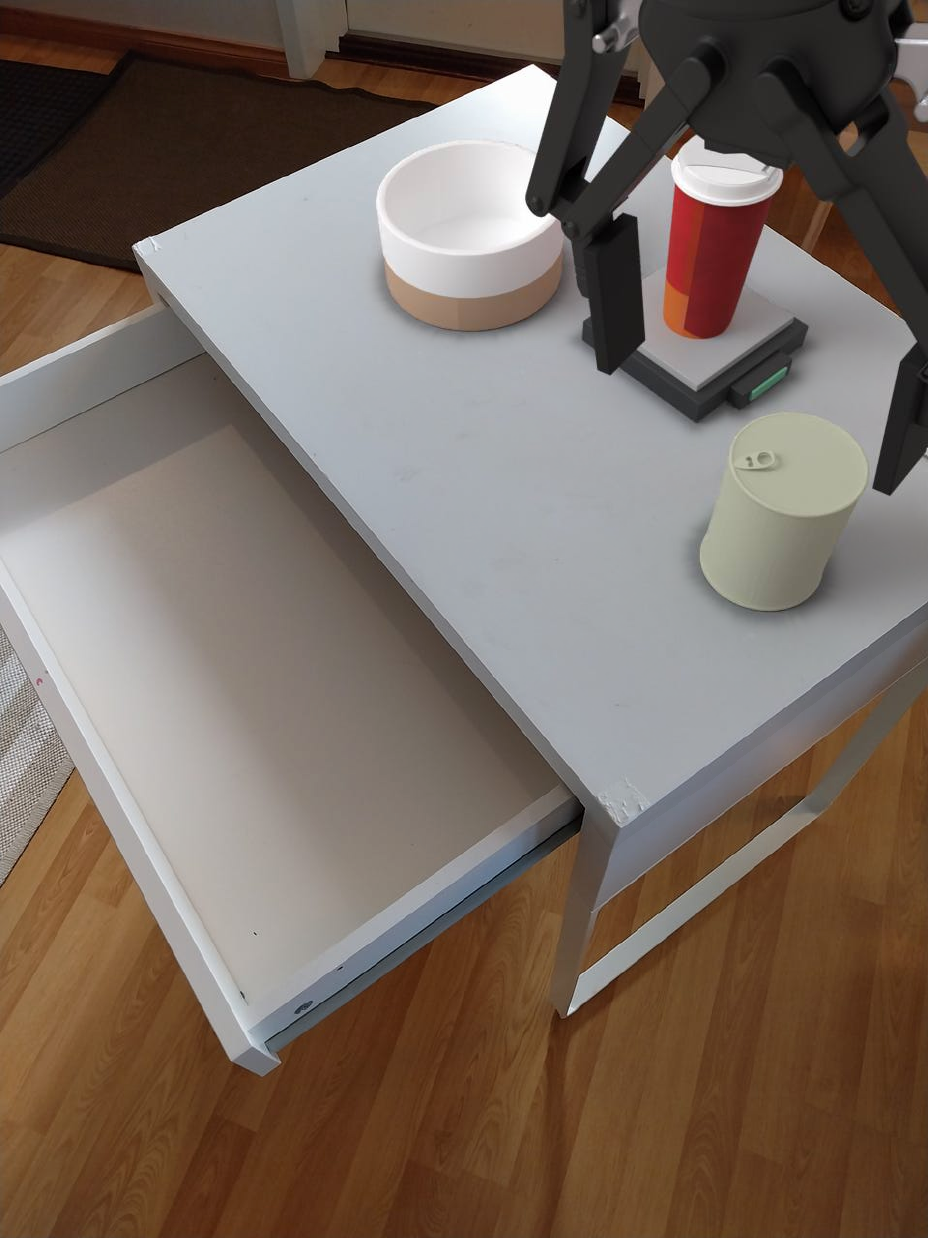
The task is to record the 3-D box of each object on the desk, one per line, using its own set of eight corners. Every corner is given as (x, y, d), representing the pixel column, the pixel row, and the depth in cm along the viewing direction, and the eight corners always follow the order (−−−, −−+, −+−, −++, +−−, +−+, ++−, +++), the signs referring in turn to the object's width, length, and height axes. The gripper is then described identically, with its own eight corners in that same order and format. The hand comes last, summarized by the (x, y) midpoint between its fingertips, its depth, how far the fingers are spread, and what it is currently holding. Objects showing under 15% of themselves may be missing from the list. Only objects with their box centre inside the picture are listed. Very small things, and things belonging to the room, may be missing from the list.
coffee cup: (759, 303, 83) (804, 141, 70) (720, 361, 79) (760, 200, 67) (673, 273, 85) (701, 111, 73) (631, 327, 82) (653, 167, 69)
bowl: (427, 354, 86) (419, 278, 78) (360, 247, 94) (348, 169, 87) (594, 296, 89) (601, 218, 82) (514, 197, 97) (514, 119, 90)
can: (690, 516, 75) (719, 409, 64) (807, 511, 74) (854, 402, 64) (709, 614, 70) (743, 515, 60) (834, 609, 70) (889, 508, 59)
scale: (818, 355, 83) (828, 328, 81) (711, 434, 79) (718, 409, 76) (686, 270, 90) (691, 243, 88) (581, 339, 86) (583, 313, 83)
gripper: (1470, -285, 18) (1095, 465, 35) (504, -277, 31) (576, 273, 48) (1316, -102, 16) (996, 602, 33) (343, -175, 28) (480, 363, 46)
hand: (748, 408), depth 40 cm, fingers open, 13 cm apart
